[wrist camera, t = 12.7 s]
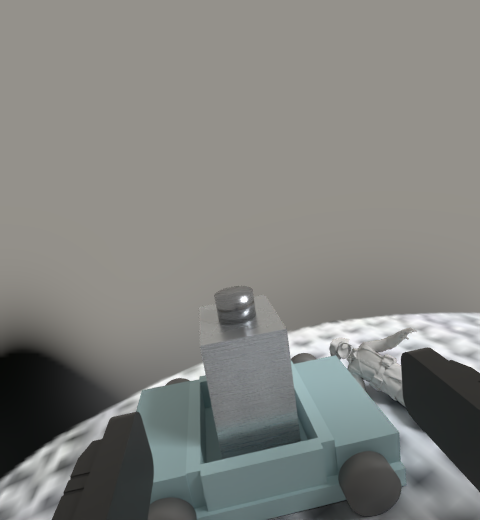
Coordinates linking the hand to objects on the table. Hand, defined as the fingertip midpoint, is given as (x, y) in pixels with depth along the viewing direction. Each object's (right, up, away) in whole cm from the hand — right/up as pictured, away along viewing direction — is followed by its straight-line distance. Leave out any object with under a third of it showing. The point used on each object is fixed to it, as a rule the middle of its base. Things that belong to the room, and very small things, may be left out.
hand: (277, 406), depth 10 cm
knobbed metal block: (0, -8, +13) cm, 15 cm away
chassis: (0, -9, +13) cm, 16 cm away
